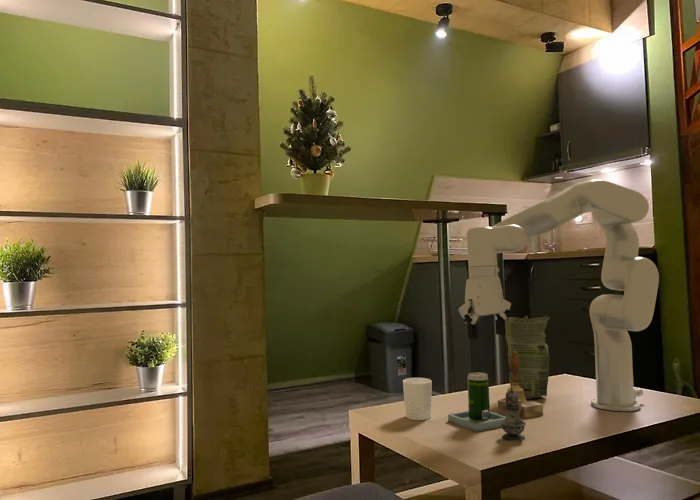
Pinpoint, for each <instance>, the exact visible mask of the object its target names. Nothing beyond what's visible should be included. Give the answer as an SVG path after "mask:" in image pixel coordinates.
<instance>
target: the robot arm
mask: <svg viewBox="0 0 700 500" xmlns="http://www.w3.org/2000/svg"><path fill="white" fill-rule="evenodd" d="M649 209H650V205H649V201H648V199H647V198H646V197H645V196H644V195H643V194H642V193H640V192H638V191H636V190H635V189H631V188H628V187H626V186H622V185H620V184H617V183H614V182H610V181H608V180H604V179H598V178H597V179H591V180H587V181H586V180H585V181H582V182H579V183H575V184H572V185H570V186H568V187H567V188H565V189H563V190H560V191H559V192H557V193H555V194H553V195H552V196H550V197H548V198H546V199H544V200H542V201H540V202H538V203H537V204H534V205H532V206H530V207H528V208H526V209H524V210H522V211H520V212H518V213H516V214H513V215H510V217H507V218H505V219H503V220H501V221H500V222H498V223H496V224H494V225H493V226H475V227H470V228H468V229H467V231H466V247H467V248H466V249H467V263H468V265H467V266H468V278H467V279H466V283H465V289H464V290H465V291H464V293H465V294H464V304H462V305H461V306H460V307H459V308H458V312H459V314H460V316H461V319H462V320H463V321H464V323H465V324H466V325H467V337H468V339H469V340H478V339H479V330H478V324H477V321H478V319H479V318H480V317H487V316H493V315H494V317H495V318H496V319H495V321H494V323H495V334H496V335H499V336H500V335H501V336H505V335H506V327H505V320H506V319H507V318H508V317H507V316H509V314H510V309H511V306H512V303H511V302H510V301H508V300H506V299H504V293H503V288H502V283H501V278H500V277H499V272H500V268H499V267H498V259H497V257H498V256H497V254H502V253H505V254H507V253H508V254H509V253H516V252H519V251H521V250H523V248H524V247H525V246H526V245H527V242H528V238H530V237H532V236H533V237H534V236H537V235H538V236H539V235H543V234H545V233H548V232H552V231H554V230H556V229H558V228H560V227H563V226H564V225H566V224H567V223H569V222H571V221H572V220H574V219H576V218H578V217H580V216H582V215H583V214H586V213H589V212H591V213H592V217H593V219H594V220H595V222H596V223H597V224H598V225H599V226H600V228H601V229H602V230H603V233H604V235H605V239H606V242H605V243H606V244H605V252H604V256H603V262H602V269H601V276H600V279H601V282H602V284H603V286H604V287H605V288H607V289H609V290H612V291H613V290H614V291H621V292H622V291H623V294H612V293H611V294H610V293H609V294H601V295H599V296H597V297H595V298H594V299H593V300H592V301H591V303H590V305H589V318H590V321H591V326H592V331H593V340H594V341H593V342H594V361H595V362H594V363H595V386H596V396H595V397H593V398H591V400H590V404H591V405H592V406H593V407H595V408H597V409H600V410H605V411H614V412H633V411H634V412H635V411H638V410H640V409H641V403H640V402H639V401H637V400H636V398H637V397H642V396H643V395H644V391H643V389H641V388H638V389H635V388H634V373H633V372H634V371H633V370H634V369H633V368H634V367H633V347H632V346H633V345H632V340H631V337H630V334H629V332H628V331H630V332H641V331H643V330H646V329H647V328H648V327H649V326H650V324H651V322H652V320H653V317H654V312H655V308H656V301H657V294H658V289H659V283H660V282H659V281H660V274H659V271H658V267H657V266H656V264H655V263H654V262H653V261H652V260H651V259H649V258H647V257H643V256H639V247H640V239H639V234H638V232H637V231H636V229H635V227H634V226H633V223H639V222H640V221H642V220H643V219H645V218H646V217H647V215H648V213H649Z"/></svg>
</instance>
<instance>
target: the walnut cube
mask: <svg viewBox="0 0 700 500" xmlns="http://www.w3.org/2000/svg"><path fill="white" fill-rule="evenodd" d="M505 405H506V397H505V398H501V399H497V414H499V415H502V416H505V417H506V408H505V407H504V406H505ZM518 405H519V406H520V408H519V416H520V418H522V402H521V400H518Z"/></svg>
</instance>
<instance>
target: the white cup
mask: <svg viewBox="0 0 700 500" xmlns="http://www.w3.org/2000/svg"><path fill="white" fill-rule="evenodd" d="M432 385H433V384H432V380H431V378H426V377H407V378H405V379H403V380H402V387H403V388H402V389H403V399H404V402H403V403H404V408H405V417H406V419H408V420H412V421H425V420H429V419H431V413H432V411H431V408H432V389H433V388H432V387H433V386H432Z"/></svg>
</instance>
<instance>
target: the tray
mask: <svg viewBox="0 0 700 500" xmlns="http://www.w3.org/2000/svg"><path fill="white" fill-rule="evenodd" d="M447 417H448V418H447V420H448V422H449V423H452V424H454V425H457V426H460V427H462V428H465V429H467V430H469V431H472V432H474V433H477V432H482V431H486V430H487V431H488V430H492V429H497V428H502V424H501V423H500V421H502V420H504V419H505V418H506V417H505V416H502V415H499V414H498V413H495V412H492V411H490V419H489V421H485V422H480V423H474V422H471V421H470V419H469V410H465V411H459V412H455V413H449V414H447Z"/></svg>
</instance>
